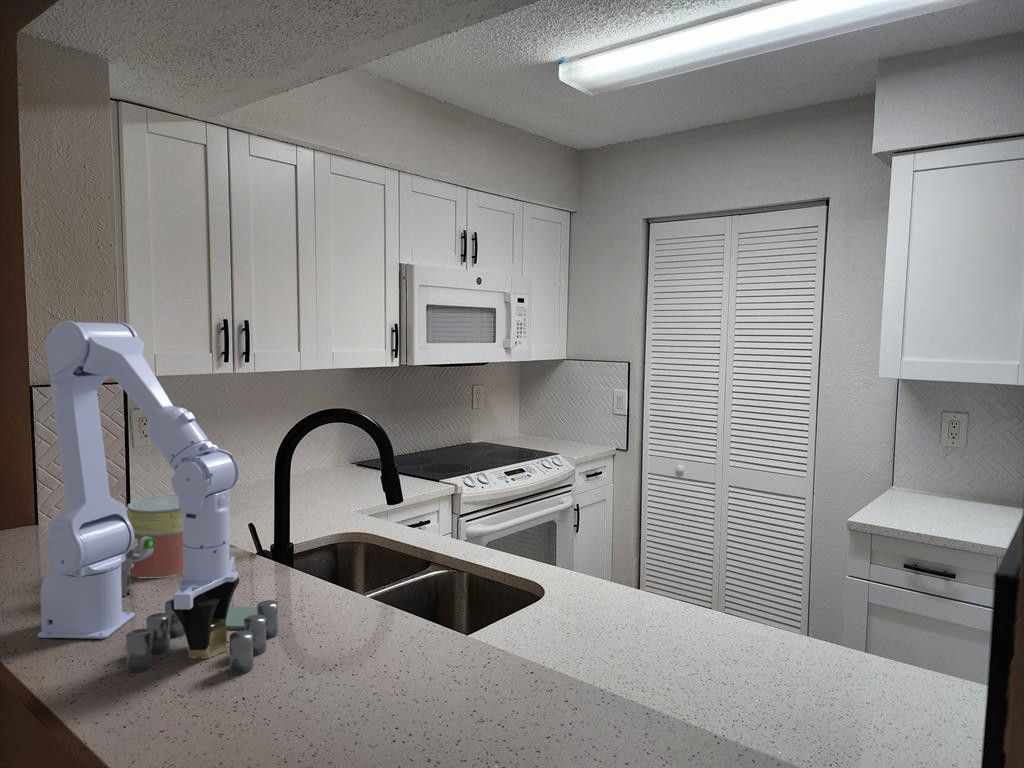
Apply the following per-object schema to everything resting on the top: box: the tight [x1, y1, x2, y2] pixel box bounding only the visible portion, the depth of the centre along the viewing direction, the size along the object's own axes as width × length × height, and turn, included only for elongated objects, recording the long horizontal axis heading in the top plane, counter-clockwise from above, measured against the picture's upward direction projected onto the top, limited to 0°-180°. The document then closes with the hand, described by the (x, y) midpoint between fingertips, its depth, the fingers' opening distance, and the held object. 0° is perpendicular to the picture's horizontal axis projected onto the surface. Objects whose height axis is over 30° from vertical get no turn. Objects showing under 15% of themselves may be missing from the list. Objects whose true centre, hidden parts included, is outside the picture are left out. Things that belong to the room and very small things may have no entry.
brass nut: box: [186, 618, 228, 659], centre depth 92 cm, size 5×5×4 cm
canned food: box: [126, 494, 183, 578], centre depth 122 cm, size 11×11×12 cm
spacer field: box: [125, 599, 279, 675], centre depth 92 cm, size 16×13×4 cm
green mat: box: [225, 605, 257, 630], centre depth 102 cm, size 9×7×1 cm
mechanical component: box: [121, 535, 155, 597], centre depth 110 cm, size 3×10×10 cm, turn 78°
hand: (207, 640), depth 92 cm, fingers closed on brass nut, 5 cm apart
